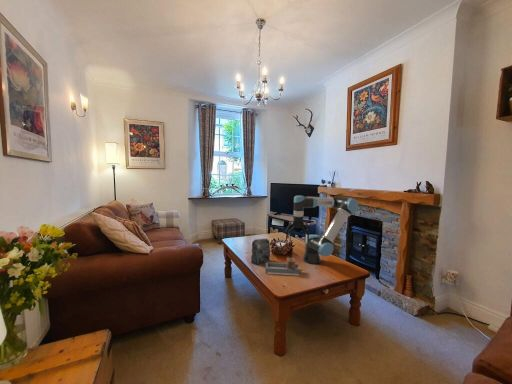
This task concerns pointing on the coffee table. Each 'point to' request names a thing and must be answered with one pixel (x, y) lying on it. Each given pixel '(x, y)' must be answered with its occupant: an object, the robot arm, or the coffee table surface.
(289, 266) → the walnut block
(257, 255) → the stone block
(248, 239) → the coffee table surface
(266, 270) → the chute
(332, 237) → the robot arm
